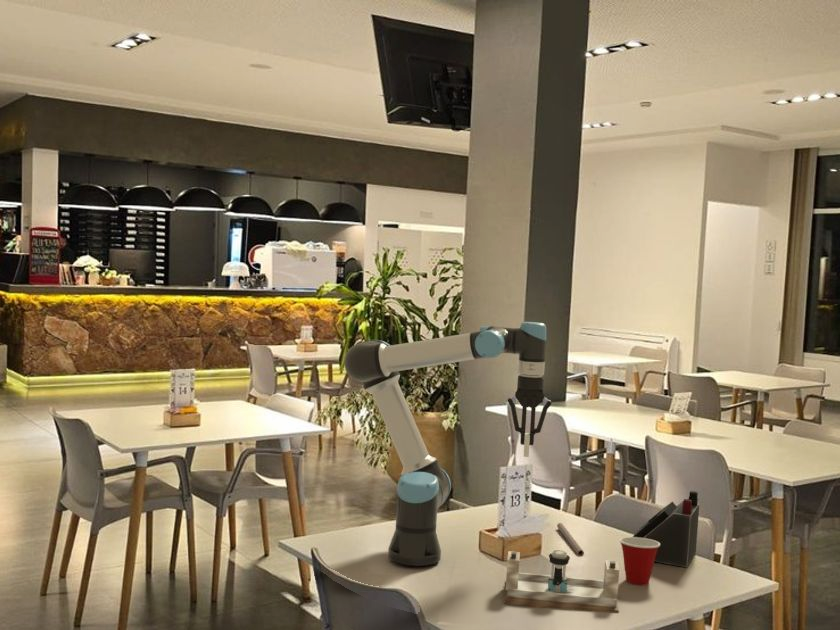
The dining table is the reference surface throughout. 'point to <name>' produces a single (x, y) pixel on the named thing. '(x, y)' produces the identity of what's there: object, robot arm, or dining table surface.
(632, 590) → the dining table surface
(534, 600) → the board
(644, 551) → the plastic cup
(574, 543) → the metal rod
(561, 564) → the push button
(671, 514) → the dark desk organizer
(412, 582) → the dining table surface
